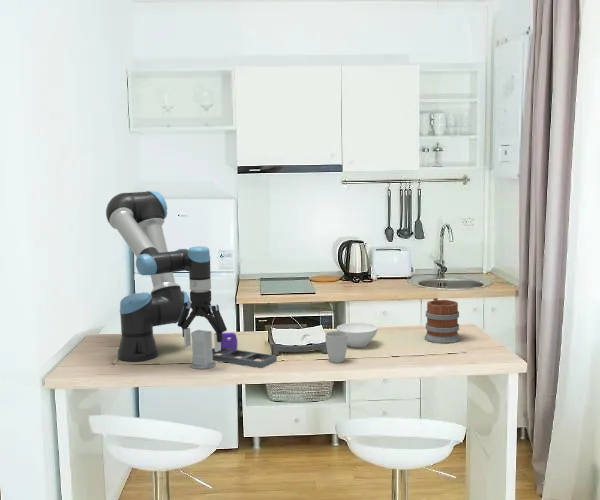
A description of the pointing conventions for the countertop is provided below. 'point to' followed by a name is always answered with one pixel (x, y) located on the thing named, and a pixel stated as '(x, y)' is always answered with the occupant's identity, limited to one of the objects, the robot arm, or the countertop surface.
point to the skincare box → (202, 347)
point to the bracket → (229, 341)
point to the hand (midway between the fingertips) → (202, 348)
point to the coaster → (203, 366)
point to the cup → (336, 345)
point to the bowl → (358, 333)
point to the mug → (442, 321)
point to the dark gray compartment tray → (243, 357)
